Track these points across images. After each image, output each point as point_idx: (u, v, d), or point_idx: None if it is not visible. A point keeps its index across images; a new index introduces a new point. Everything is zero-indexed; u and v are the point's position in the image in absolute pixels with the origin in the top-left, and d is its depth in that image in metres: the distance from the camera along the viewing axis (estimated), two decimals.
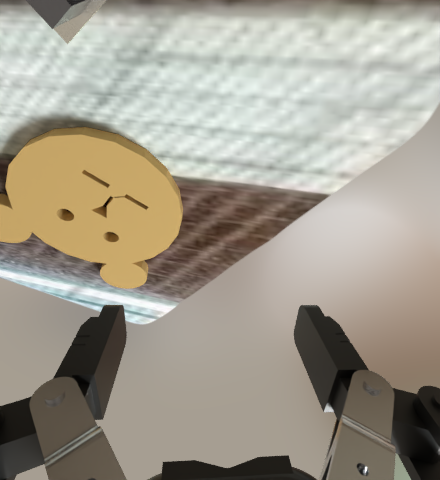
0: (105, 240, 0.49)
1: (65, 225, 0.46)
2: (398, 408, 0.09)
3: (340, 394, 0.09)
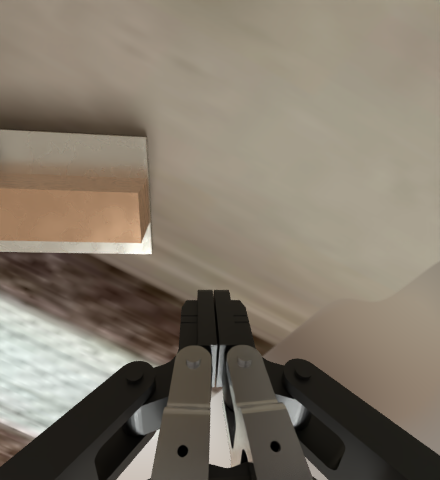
0: None
1: None
2: None
3: (223, 368, 0.10)
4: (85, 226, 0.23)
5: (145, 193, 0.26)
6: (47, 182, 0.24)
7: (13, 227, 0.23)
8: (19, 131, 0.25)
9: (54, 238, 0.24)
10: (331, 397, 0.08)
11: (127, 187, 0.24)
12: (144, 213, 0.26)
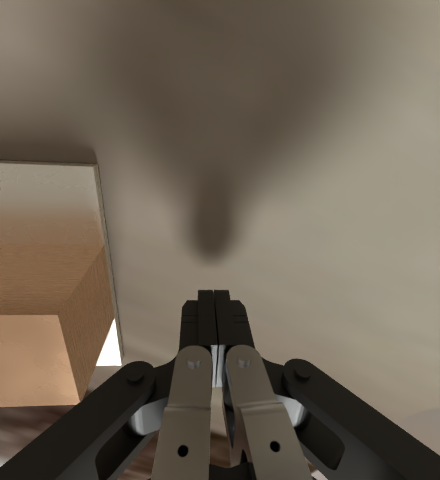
0: None
1: None
2: None
3: (223, 368, 0.10)
4: None
5: (95, 282, 0.12)
6: None
7: None
8: None
9: None
10: (330, 397, 0.08)
11: (43, 287, 0.10)
12: (92, 326, 0.12)
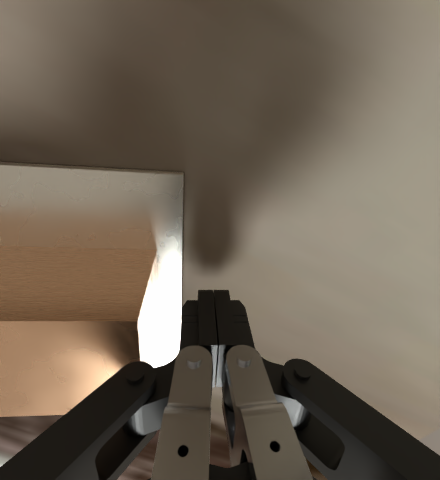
0: None
1: None
2: None
3: (223, 368, 0.10)
4: (9, 389, 0.10)
5: (152, 287, 0.12)
6: None
7: None
8: None
9: None
10: (330, 397, 0.08)
11: (112, 292, 0.10)
12: (150, 332, 0.12)
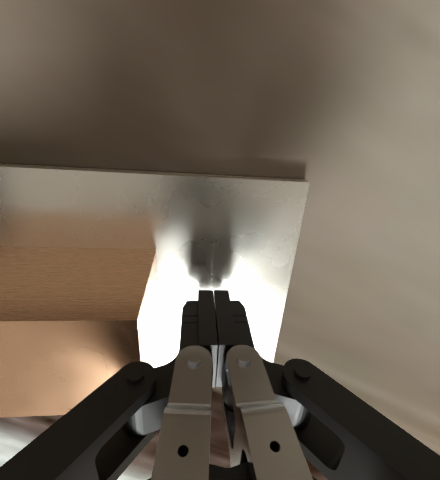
0: None
1: None
2: None
3: (223, 368, 0.10)
4: (10, 389, 0.10)
5: (152, 286, 0.12)
6: None
7: None
8: (58, 170, 0.12)
9: None
10: (330, 397, 0.08)
11: (112, 292, 0.10)
12: (150, 331, 0.12)
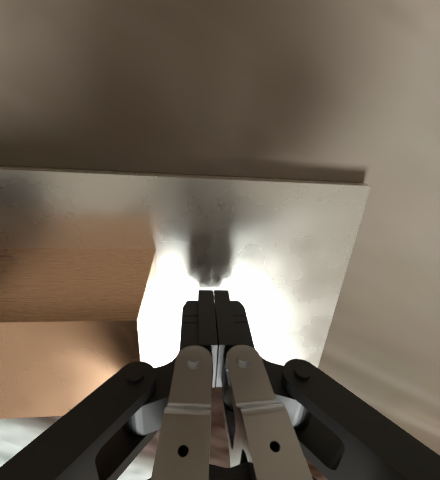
0: None
1: None
2: None
3: (223, 368, 0.10)
4: (10, 390, 0.10)
5: (152, 287, 0.12)
6: None
7: None
8: (131, 176, 0.12)
9: None
10: (330, 397, 0.08)
11: (112, 292, 0.10)
12: (150, 332, 0.12)
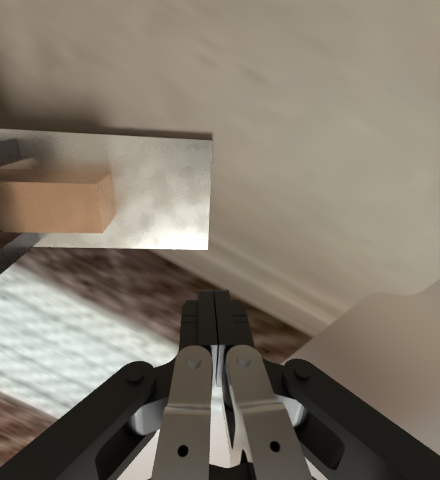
0: None
1: None
2: None
3: (223, 368, 0.10)
4: (46, 217, 0.24)
5: (108, 186, 0.27)
6: (10, 175, 0.25)
7: None
8: (98, 135, 0.27)
9: (17, 229, 0.25)
10: (331, 397, 0.08)
11: (87, 179, 0.25)
12: (106, 205, 0.27)
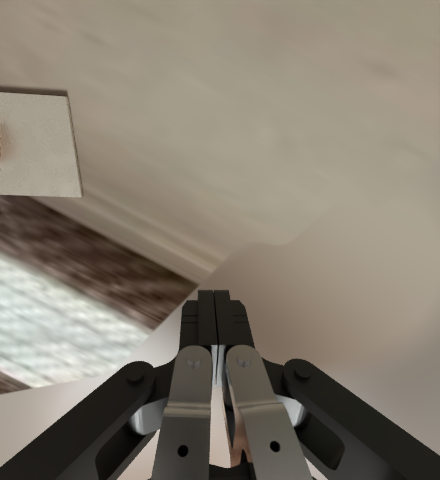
0: None
1: None
2: None
3: (223, 368, 0.10)
4: None
5: None
6: None
7: None
8: None
9: None
10: (331, 397, 0.08)
11: None
12: None
